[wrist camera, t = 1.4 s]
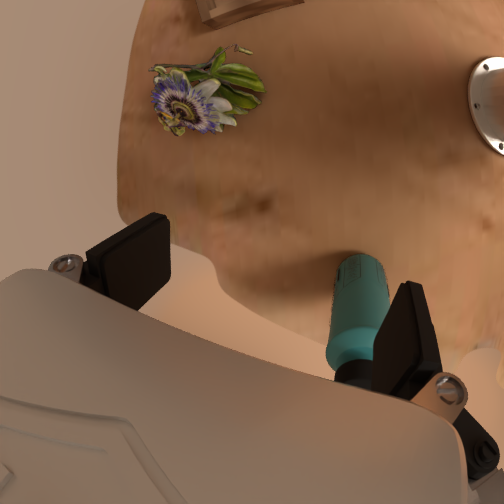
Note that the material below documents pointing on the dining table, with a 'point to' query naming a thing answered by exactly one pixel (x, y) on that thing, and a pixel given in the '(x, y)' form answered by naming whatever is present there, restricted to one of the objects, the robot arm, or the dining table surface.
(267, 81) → the dining table surface
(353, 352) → the beverage bottle
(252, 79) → the passion flower
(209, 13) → the wooden tray
